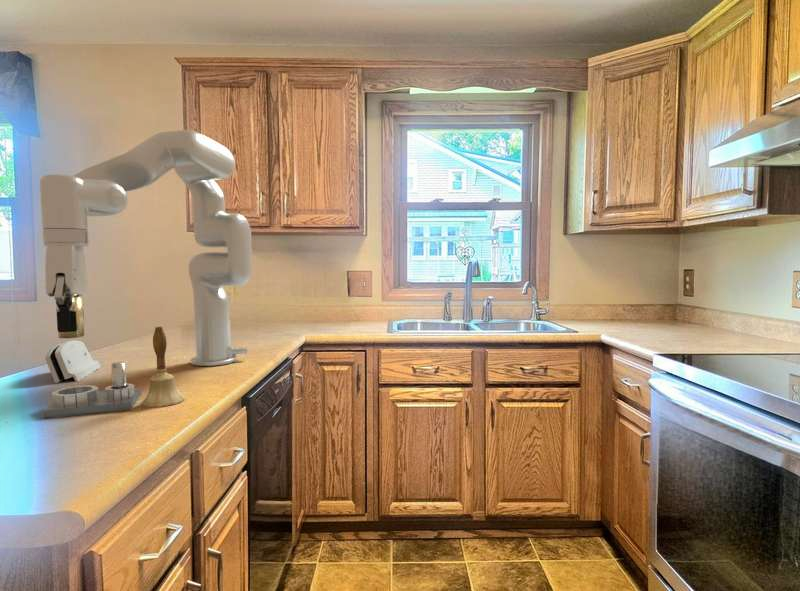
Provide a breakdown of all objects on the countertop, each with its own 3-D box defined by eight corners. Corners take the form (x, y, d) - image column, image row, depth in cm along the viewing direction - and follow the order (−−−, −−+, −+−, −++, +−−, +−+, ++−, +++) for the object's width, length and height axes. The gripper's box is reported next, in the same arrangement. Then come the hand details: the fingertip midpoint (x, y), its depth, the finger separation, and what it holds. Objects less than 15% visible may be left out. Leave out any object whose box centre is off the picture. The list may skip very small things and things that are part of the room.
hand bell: (141, 409, 100) (137, 331, 99) (141, 399, 108) (137, 325, 106) (186, 403, 104) (183, 327, 103) (183, 394, 112) (180, 323, 110)
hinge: (77, 381, 123) (59, 344, 122) (57, 389, 123) (39, 351, 121) (101, 367, 140) (86, 334, 138) (84, 373, 139) (68, 340, 137)
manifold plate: (141, 394, 112) (139, 356, 111) (131, 409, 100) (129, 368, 100) (62, 401, 107) (60, 361, 106) (43, 418, 95) (40, 374, 95)
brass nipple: (86, 334, 104) (84, 296, 103) (81, 337, 100) (78, 297, 99) (62, 335, 102) (59, 296, 102) (55, 338, 98) (52, 298, 98)
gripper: (57, 240, 106) (62, 325, 108) (27, 237, 90) (34, 337, 92) (98, 240, 109) (102, 323, 110) (75, 237, 93) (81, 335, 94)
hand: (71, 329), depth 101 cm, fingers closed on brass nipple, 4 cm apart
